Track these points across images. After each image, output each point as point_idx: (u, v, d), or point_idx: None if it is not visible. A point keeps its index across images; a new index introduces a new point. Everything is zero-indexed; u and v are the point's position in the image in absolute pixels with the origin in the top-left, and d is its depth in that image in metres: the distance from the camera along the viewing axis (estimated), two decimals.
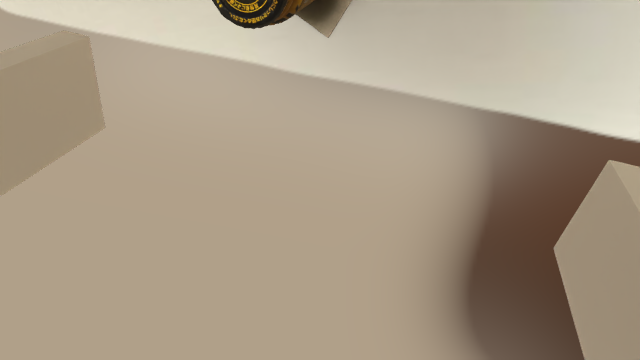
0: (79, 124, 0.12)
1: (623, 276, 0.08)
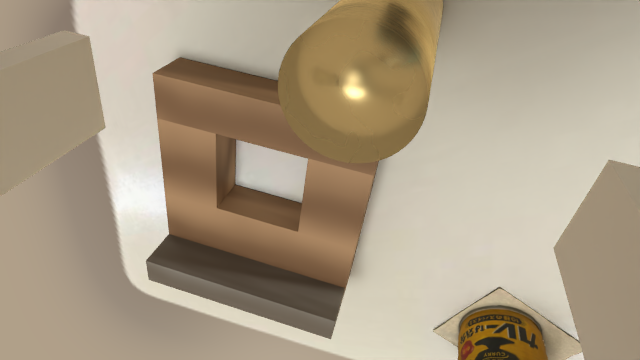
0: (79, 124, 0.12)
1: (623, 276, 0.08)
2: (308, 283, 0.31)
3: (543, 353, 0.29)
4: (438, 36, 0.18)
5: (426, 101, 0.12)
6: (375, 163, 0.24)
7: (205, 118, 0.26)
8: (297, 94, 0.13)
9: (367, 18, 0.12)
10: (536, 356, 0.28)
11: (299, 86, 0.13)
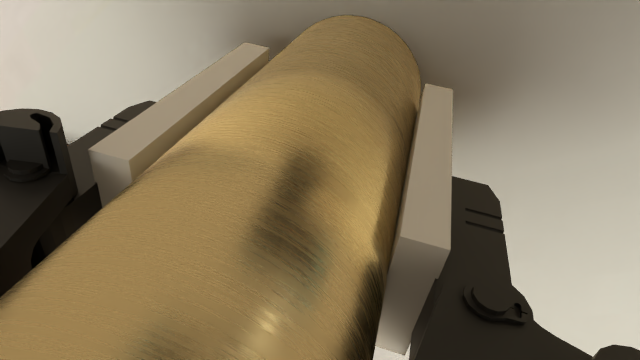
0: None
1: None
2: None
3: None
4: None
5: None
6: None
7: None
8: None
9: None
10: None
11: None
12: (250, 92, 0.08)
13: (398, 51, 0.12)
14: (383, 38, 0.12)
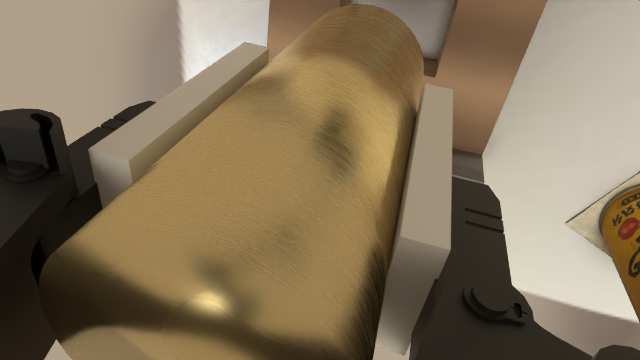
0: None
1: None
2: None
3: None
4: (411, 140, 0.11)
5: None
6: None
7: None
8: (89, 342, 0.06)
9: (198, 233, 0.05)
10: None
11: (88, 332, 0.06)
12: (281, 64, 0.09)
13: (404, 35, 0.13)
14: (390, 24, 0.13)
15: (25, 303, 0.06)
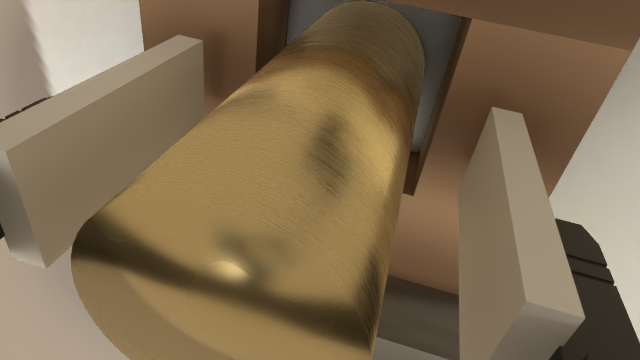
0: (189, 121, 0.12)
1: (483, 194, 0.09)
2: (421, 296, 0.16)
3: None
4: (413, 129, 0.11)
5: (367, 358, 0.06)
6: None
7: None
8: (116, 308, 0.07)
9: (222, 198, 0.05)
10: None
11: (114, 297, 0.06)
12: (289, 55, 0.10)
13: (406, 30, 0.14)
14: (393, 19, 0.14)
15: None
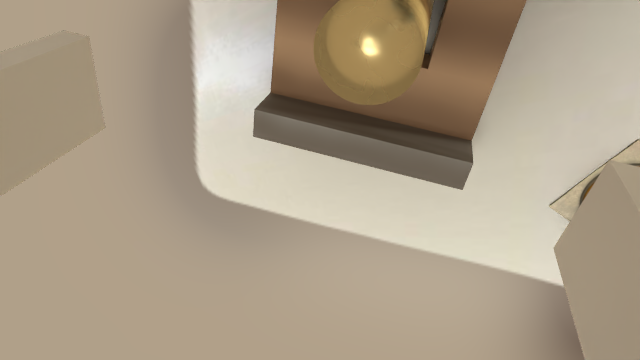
0: (79, 124, 0.12)
1: (623, 276, 0.08)
2: (432, 135, 0.28)
3: None
4: (430, 16, 0.23)
5: (422, 54, 0.17)
6: None
7: None
8: (327, 52, 0.18)
9: None
10: None
11: (329, 45, 0.18)
12: None
13: None
14: None
15: None
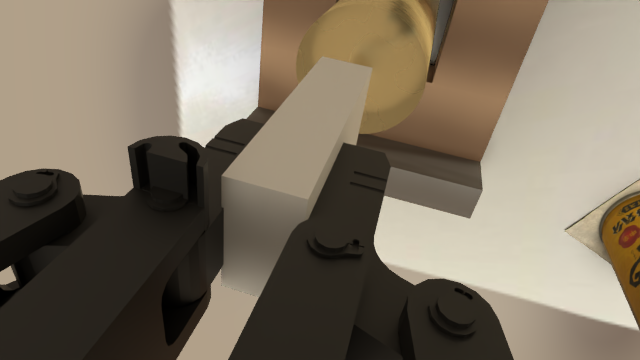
0: None
1: None
2: (436, 156, 0.25)
3: None
4: (435, 25, 0.20)
5: (425, 76, 0.14)
6: None
7: None
8: None
9: (374, 5, 0.14)
10: None
11: None
12: None
13: None
14: None
15: (150, 339, 0.06)
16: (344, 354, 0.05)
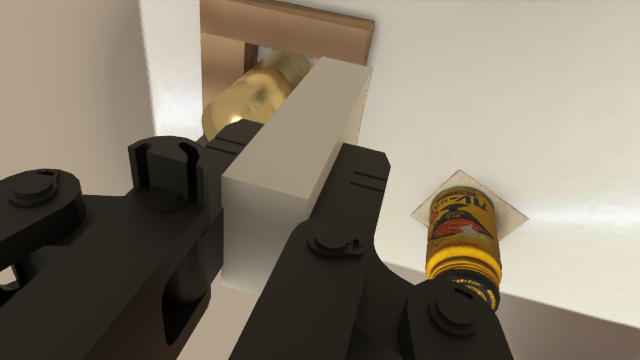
0: None
1: None
2: None
3: (491, 214, 0.38)
4: None
5: None
6: (362, 58, 0.34)
7: (237, 29, 0.35)
8: (210, 127, 0.30)
9: (234, 98, 0.28)
10: (485, 215, 0.38)
11: (210, 124, 0.30)
12: (252, 70, 0.33)
13: (299, 59, 0.37)
14: (294, 55, 0.37)
15: (150, 339, 0.06)
16: (344, 354, 0.05)
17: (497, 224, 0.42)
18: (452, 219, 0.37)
